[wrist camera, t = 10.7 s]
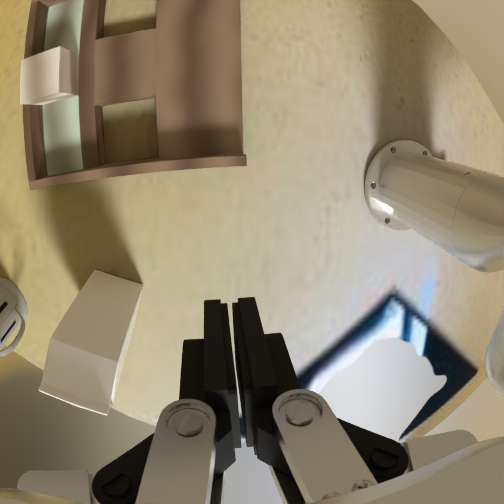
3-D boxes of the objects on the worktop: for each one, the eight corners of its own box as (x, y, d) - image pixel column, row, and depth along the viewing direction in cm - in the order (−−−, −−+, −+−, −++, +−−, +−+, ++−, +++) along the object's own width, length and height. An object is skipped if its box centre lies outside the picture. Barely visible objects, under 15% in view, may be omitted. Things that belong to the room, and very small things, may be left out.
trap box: (237, -24, 25) (242, -44, 20) (241, 160, 34) (246, 165, 29) (51, 8, 22) (32, -4, 17) (51, 181, 31) (30, 190, 26)
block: (79, 54, 24) (60, 46, 20) (78, 95, 26) (58, 91, 22) (43, 66, 24) (21, 60, 19) (42, 105, 26) (20, 104, 21)
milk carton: (94, 268, 37) (34, 365, 20) (143, 284, 39) (109, 392, 21) (89, 310, 39) (42, 410, 22) (134, 325, 41) (106, 433, 24)
